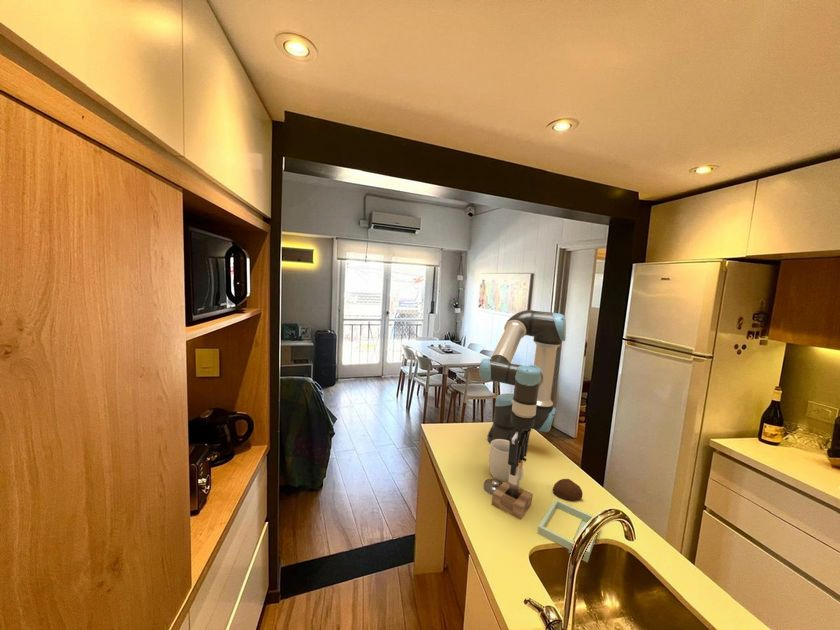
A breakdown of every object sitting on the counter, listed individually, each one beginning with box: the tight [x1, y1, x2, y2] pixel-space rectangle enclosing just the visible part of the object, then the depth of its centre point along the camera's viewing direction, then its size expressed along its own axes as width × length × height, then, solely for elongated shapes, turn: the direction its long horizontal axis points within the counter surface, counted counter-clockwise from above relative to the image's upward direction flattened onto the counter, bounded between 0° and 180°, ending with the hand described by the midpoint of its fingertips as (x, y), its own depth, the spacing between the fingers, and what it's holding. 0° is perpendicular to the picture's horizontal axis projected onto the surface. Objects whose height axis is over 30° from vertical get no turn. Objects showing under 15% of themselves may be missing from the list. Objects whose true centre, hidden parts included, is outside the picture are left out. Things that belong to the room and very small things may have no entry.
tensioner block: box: [491, 481, 533, 520], centre depth 113 cm, size 10×10×5 cm
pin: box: [508, 461, 522, 499], centre depth 112 cm, size 3×3×12 cm
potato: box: [552, 478, 584, 501], centre depth 121 cm, size 7×10×7 cm
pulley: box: [483, 478, 504, 496], centre depth 121 cm, size 8×8×4 cm
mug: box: [488, 439, 524, 482], centre depth 128 cm, size 15×11×13 cm
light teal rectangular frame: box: [537, 498, 598, 563], centre depth 104 cm, size 18×14×3 cm
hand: (514, 480), depth 112 cm, fingers closed on pin, 3 cm apart
